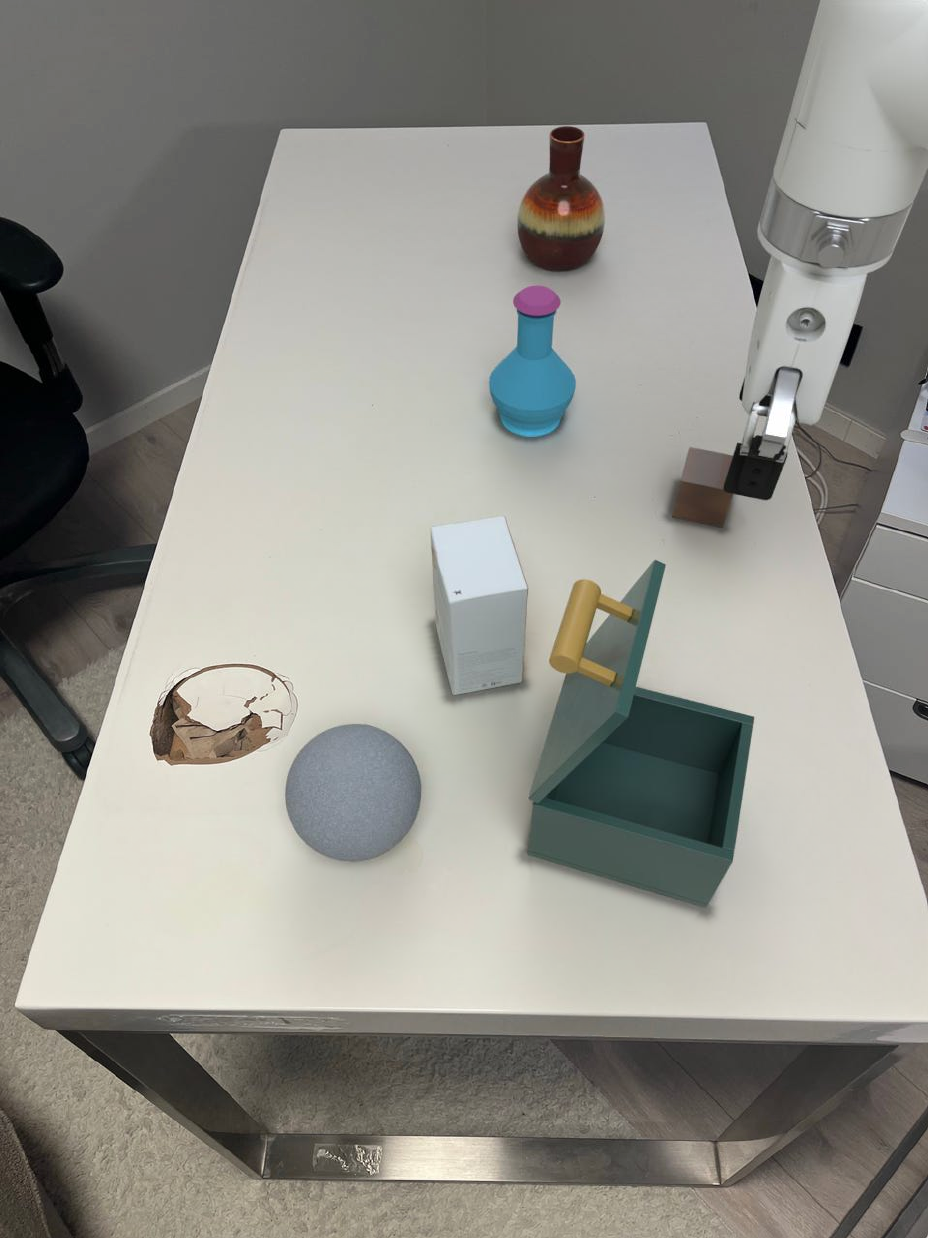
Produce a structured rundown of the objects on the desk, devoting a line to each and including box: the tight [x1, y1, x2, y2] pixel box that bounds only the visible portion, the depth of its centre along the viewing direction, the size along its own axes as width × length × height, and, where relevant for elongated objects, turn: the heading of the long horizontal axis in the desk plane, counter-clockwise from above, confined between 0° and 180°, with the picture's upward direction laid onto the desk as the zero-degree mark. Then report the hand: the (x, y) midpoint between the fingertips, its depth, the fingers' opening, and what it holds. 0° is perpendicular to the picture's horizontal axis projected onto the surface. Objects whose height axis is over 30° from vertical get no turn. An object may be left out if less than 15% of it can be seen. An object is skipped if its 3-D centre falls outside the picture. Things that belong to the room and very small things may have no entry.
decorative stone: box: [284, 723, 422, 863], centre depth 67 cm, size 10×10×10 cm
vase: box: [516, 125, 606, 272], centre depth 112 cm, size 11×11×15 cm
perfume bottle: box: [488, 285, 577, 438], centre depth 93 cm, size 9×9×15 cm
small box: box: [429, 515, 529, 696], centre depth 75 cm, size 8×6×13 cm
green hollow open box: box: [527, 686, 755, 909], centre depth 67 cm, size 14×12×9 cm
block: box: [671, 446, 734, 529], centre depth 89 cm, size 5×5×5 cm
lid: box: [528, 559, 667, 803], centre depth 59 cm, size 14×12×5 cm
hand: (753, 446), depth 64 cm, fingers open, 9 cm apart
